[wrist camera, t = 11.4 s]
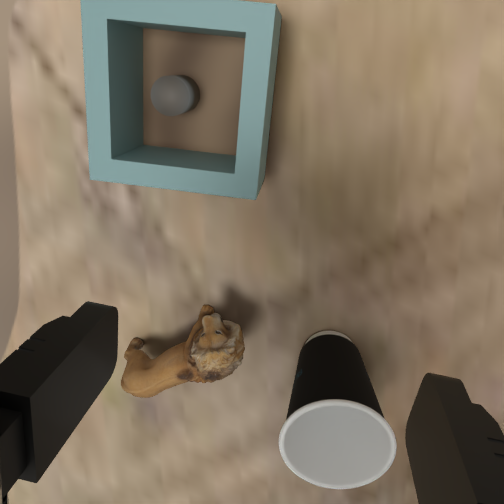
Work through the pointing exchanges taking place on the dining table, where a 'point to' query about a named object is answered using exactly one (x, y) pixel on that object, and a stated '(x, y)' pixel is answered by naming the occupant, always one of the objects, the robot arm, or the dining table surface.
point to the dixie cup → (335, 418)
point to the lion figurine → (186, 357)
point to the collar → (131, 93)
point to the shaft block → (192, 90)
